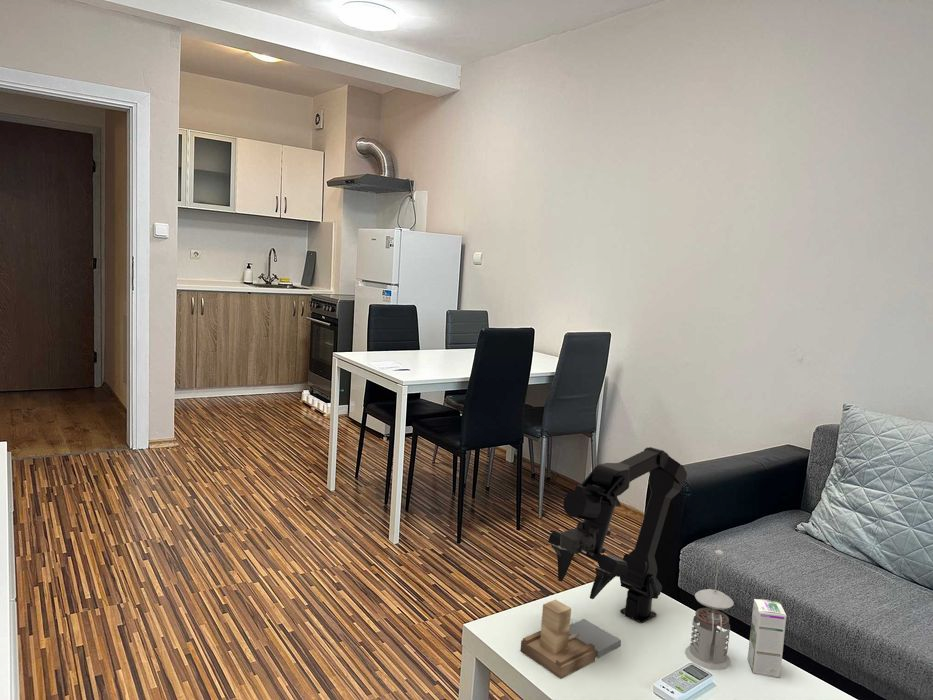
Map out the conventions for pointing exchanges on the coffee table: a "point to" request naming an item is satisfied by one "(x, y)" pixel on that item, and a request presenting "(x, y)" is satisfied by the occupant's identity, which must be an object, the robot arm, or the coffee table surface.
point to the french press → (711, 629)
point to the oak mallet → (556, 627)
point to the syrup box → (766, 637)
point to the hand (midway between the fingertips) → (575, 589)
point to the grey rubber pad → (595, 637)
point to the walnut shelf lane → (559, 655)
